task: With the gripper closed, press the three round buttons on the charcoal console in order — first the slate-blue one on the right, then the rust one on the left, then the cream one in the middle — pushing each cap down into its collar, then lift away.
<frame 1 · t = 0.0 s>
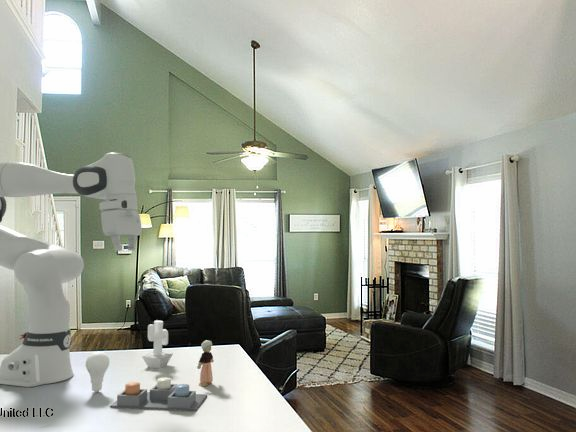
hand: (125, 250, 142), 39 cm above the table, tool pointing down, fingers open, 8 cm apart
console: (160, 401, 122), on the table
cream button: (163, 385, 125), point 3 cm above the table, slide at 0.0 cm
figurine: (157, 366, 157), on the table
lightbulb: (96, 392, 129), on the table
rust button: (132, 390, 120), point 4 cm above the table, slide at 0.0 cm
slate button: (182, 392, 119), point 3 cm above the table, slide at 0.0 cm
grandmother figurine: (206, 384, 138), on the table
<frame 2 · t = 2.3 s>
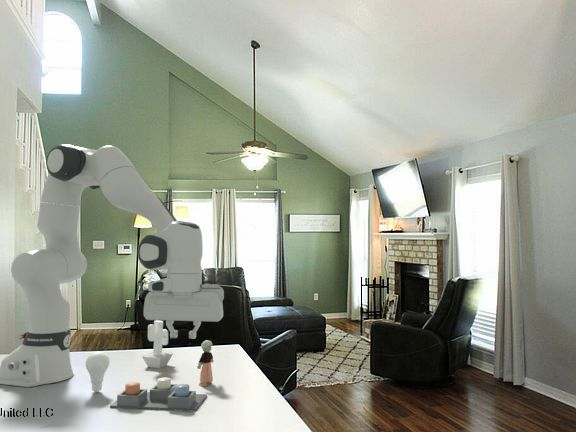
hand: (183, 338, 120), 17 cm above the table, tool pointing down, fingers open, 3 cm apart
nothing on the table moved.
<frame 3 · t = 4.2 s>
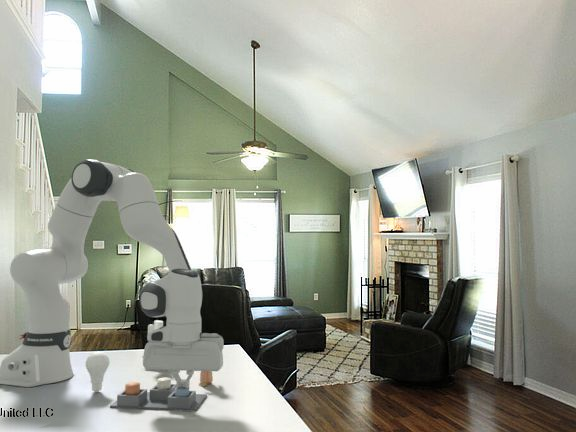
hand: (182, 387, 119), 5 cm above the table, tool pointing down, fingers closed, pressing on slate button
slate button: (182, 393, 119), point 3 cm above the table, slide at 0.4 cm, touching gripper
everything else where it was.
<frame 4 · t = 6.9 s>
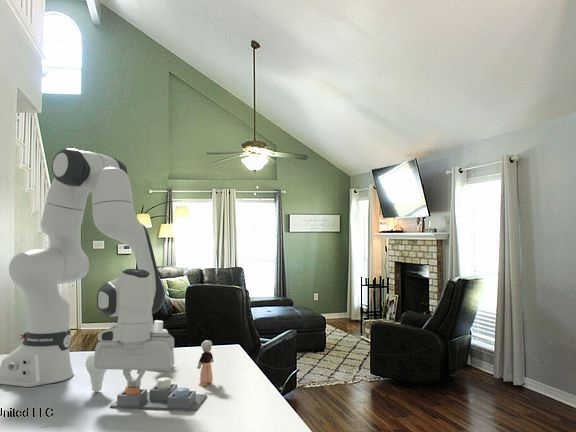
hand: (133, 386, 121), 4 cm above the table, tool pointing down, fingers closed, pressing on rust button
rust button: (132, 392, 120), point 3 cm above the table, slide at 0.7 cm, touching gripper
slate button: (181, 395, 119), point 3 cm above the table, slide at 0.9 cm
everything else where it was.
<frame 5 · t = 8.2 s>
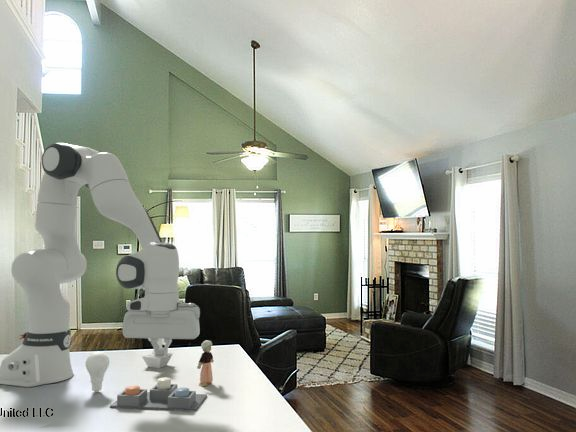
hand: (161, 355, 124), 12 cm above the table, tool pointing down, fingers closed
rust button: (132, 393, 120), point 3 cm above the table, slide at 0.9 cm
everything else where it was.
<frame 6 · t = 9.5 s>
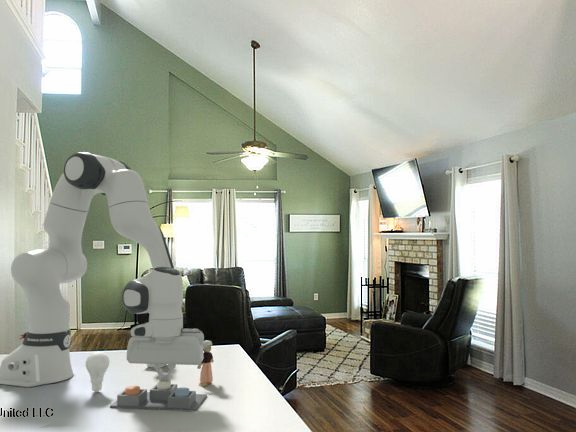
hand: (165, 380, 125), 5 cm above the table, tool pointing down, fingers closed, pressing on cream button
cream button: (163, 386, 125), point 3 cm above the table, slide at 0.3 cm, touching gripper
everything else where it was.
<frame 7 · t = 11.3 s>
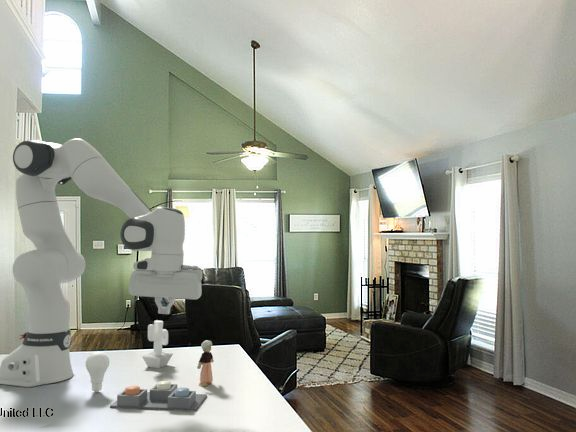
hand: (164, 313, 131), 22 cm above the table, tool pointing down, fingers closed
cream button: (163, 388, 125), point 3 cm above the table, slide at 0.9 cm
everything else where it was.
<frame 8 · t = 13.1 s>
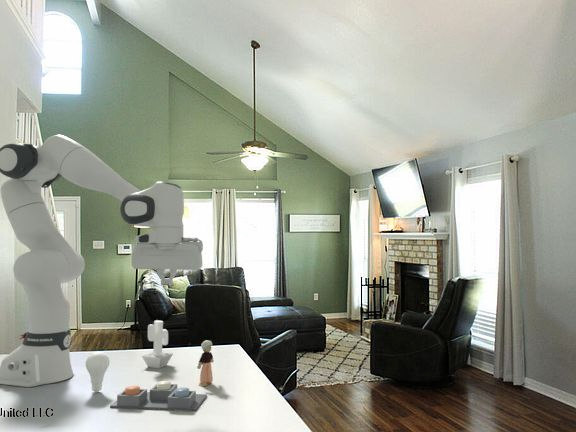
hand: (166, 285, 135), 29 cm above the table, tool pointing down, fingers closed
nothing on the table moved.
at the end: slate button slide at 0.9 cm; rust button slide at 0.9 cm; cream button slide at 0.9 cm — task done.
